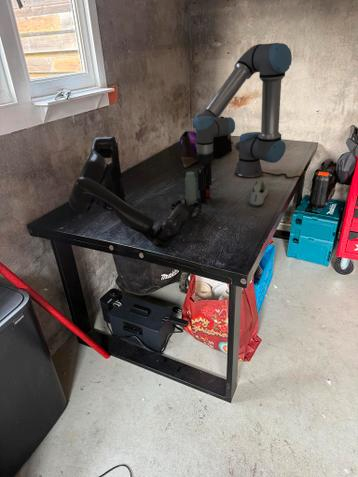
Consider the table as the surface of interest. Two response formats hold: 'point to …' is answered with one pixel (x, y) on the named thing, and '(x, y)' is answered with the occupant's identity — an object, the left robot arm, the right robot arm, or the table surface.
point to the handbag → (221, 145)
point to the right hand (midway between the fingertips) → (205, 199)
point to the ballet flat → (258, 193)
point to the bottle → (190, 189)
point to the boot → (187, 151)
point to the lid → (207, 192)
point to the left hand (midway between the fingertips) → (193, 199)
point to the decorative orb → (191, 140)
